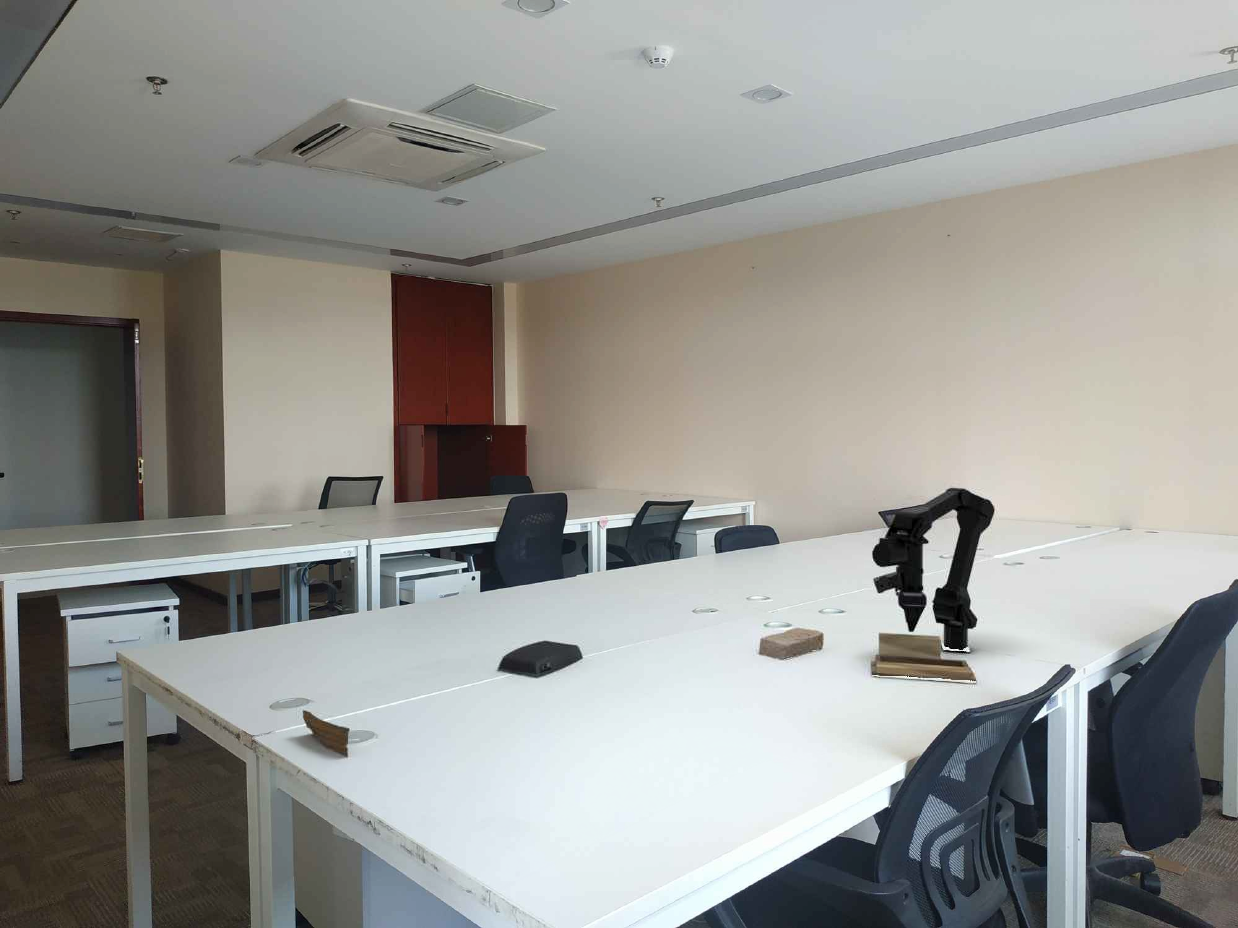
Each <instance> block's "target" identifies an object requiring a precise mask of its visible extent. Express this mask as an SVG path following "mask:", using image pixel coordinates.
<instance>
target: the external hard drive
mask: <svg viewBox="0 0 1238 928" xmlns="http://www.w3.org/2000/svg"><path fill="white" fill-rule="evenodd" d="M583 656H584V655H583V653H582V651H581V649H580V647H579V645H577V644H569V643H563V642H555V641H551V640H550V641H549V640H541V641H537V642H533V643H528V644H526V645H523V646H521V647H518V648H516V649H513V650H512V651H510V652H508V653H506V654H505V655H503V656H502V658H501V659H500V661H499V664H498V667H497V669H496V671H497V672H500V671H503V672H502V673H506V672H507V673H506V674H513V675H517V676H523V677H530V678H536V679H538V678H539V679H540V678H542V677H545V676H548V675H550V674H553V673H556V672H559V671H560V670H562V669H564V668H567V667H569V666H571V665H573V664H575V663H577V662H579V661H581V660H582V659H584V657H583Z"/></svg>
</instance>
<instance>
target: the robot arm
mask: <svg viewBox="0 0 1238 928" xmlns="http://www.w3.org/2000/svg"><path fill="white" fill-rule="evenodd" d="M995 510H996V509H995V505H993V502H992V501H991V500H990V499H987V498H984V497H982V496H980V495H977V494H975V493H972V492H971V491H970V490H968V489H966V488H965V487H964V488H962V487H961V488H960V487H950V488H947V489H946V490H945V491H944V492H943V493H941V494H939V495H937V496H936V497H933V498H932V499H930V500H928V501H927V502H925V503H923V504H921V505H920V506H917V507H909V508H905V509H901V510H899V511H897V512H896V513H895V515H894V517H893V520H892V521H891V524H890V525H889V528H888V530H887V531H886V534H885V537H879V538H878V543H877V544H875V546H874V547H873V548H872V549H873V550H872V552H871V556H872V560H873V563H875V565H876V566H878V567H880V568H886V567H887V568H888V567H889V568H890V567H894V566H896V567H895V571H894V572H890V573H886V574H882V575H879V576H877V577H874V578H873V579H872V580H873V583H874V588H876V592H877V594H881V593H885V592H887V591H890V590H892V589H894V592H895V596H896V597H897V604H898V606H899V607H900V608H901V609H902V610H903V613H904V618H905V623H906V624H907V630H908V632H909V633H914V632H915V630H916V628H917V625H918V623H919V620H920V619H921V616H922V614H923V613H924V611H925V608H927V607H926V606H927V605H928V604H927V603H928V601H927V595H926V594H925V593H924V585H923V584H924V583H923V580H924V579H923V576H924V567H923V566H924V563H923V561H924V559H923V558H924V545H927V544H928V545H929V542H930V541H929V539H927V538H926V537H925V536H924V535H926V534H927V533H928V532H929V531H930V530H931V529H932V527H933V523H934V522H936V521H937V520H939V519H940V518H943V517H944V516H946V515H947V514H948V513H950V512H952V511H955V513H956V517H955V518H956V521H957V524H958V527H959V532H958V537H957V541H956V544H955V549H954V552H953V557H952V559H951V560H952V561H951V564H950V567H949V571H948V576H947V580H946V583H945V584H944V585H942V587H936V589H935V591H934V597H933V599H932V601H931V603H932V612H933V615H934V620H935V623H936V624H942V625H943V643H944V646H945V647H949V648H950V649H959V650H963V649H964V648H966V647H969V644H968V642H969V639H968V638H969V630H973V629H974V628H976V627H977V624H978V617H977V616H976V614H974V612H973V611H972V610H971V602H972V600H971V596H970V593H969V591H968V586H969V582H970V578H971V573H972V571H973V566H974V561H975V559H976V554H977V549H978V545H979V543H980V538H981V535H982V534H983V532H984V531H985V530H986V529H988V528H989V526H990V525H991V523H992V521H993V518H994V515H995Z"/></svg>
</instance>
